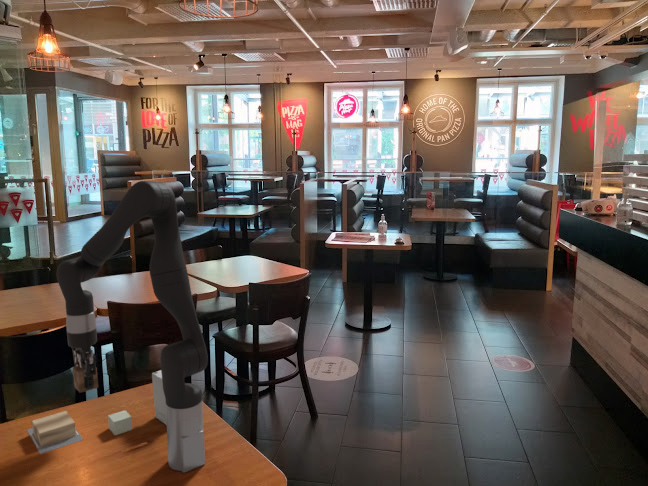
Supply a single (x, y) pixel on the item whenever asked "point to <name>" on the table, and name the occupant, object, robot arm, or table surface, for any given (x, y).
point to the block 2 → (120, 422)
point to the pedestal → (53, 428)
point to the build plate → (54, 445)
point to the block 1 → (82, 379)
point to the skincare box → (159, 397)
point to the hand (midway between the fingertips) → (86, 384)
